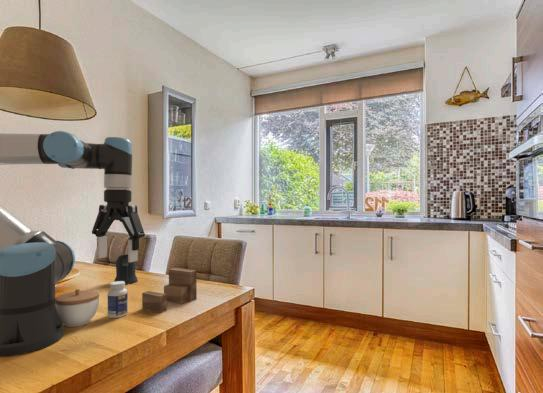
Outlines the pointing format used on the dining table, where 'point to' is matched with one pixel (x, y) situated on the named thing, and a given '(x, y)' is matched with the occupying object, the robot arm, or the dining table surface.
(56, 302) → the lidded jar
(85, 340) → the dining table surface
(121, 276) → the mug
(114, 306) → the pill bottle
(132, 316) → the dining table surface
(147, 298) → the cluster of brown boxes
